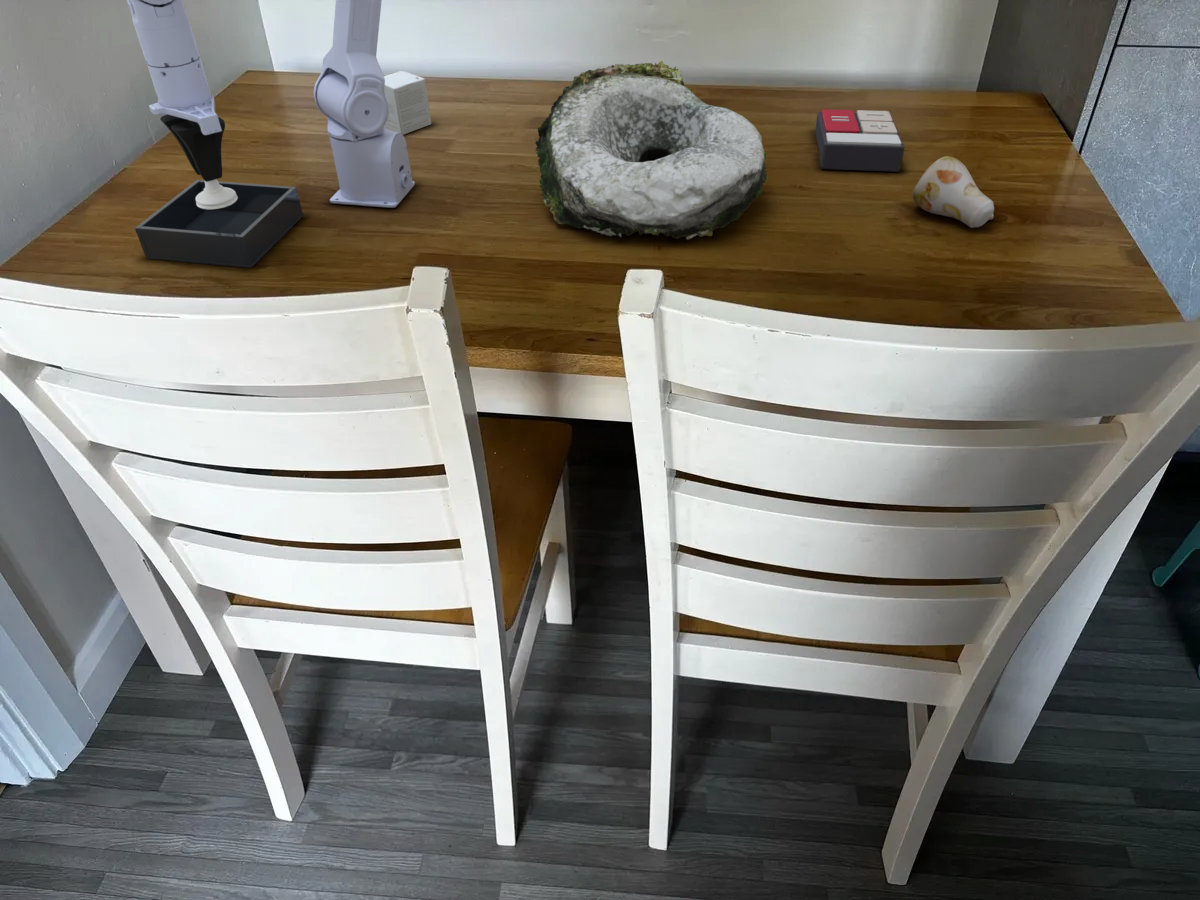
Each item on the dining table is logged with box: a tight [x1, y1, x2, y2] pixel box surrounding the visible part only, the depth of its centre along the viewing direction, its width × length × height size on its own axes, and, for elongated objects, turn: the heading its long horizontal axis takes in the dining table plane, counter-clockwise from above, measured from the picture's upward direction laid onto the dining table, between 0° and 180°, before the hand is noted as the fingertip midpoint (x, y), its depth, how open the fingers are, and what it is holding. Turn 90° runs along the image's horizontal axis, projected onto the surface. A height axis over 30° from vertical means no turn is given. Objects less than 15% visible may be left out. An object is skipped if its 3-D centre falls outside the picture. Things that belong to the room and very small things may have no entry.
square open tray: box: [134, 179, 304, 269], centre depth 114 cm, size 14×14×4 cm
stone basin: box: [534, 60, 770, 241], centre depth 118 cm, size 29×30×15 cm
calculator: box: [814, 108, 905, 173], centre depth 133 cm, size 11×4×15 cm
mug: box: [912, 155, 995, 229], centre depth 115 cm, size 8×10×10 cm
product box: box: [384, 70, 432, 136], centre depth 142 cm, size 6×6×7 cm
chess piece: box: [196, 179, 238, 209], centre depth 109 cm, size 5×5×10 cm
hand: (209, 175), depth 111 cm, fingers closed on chess piece
